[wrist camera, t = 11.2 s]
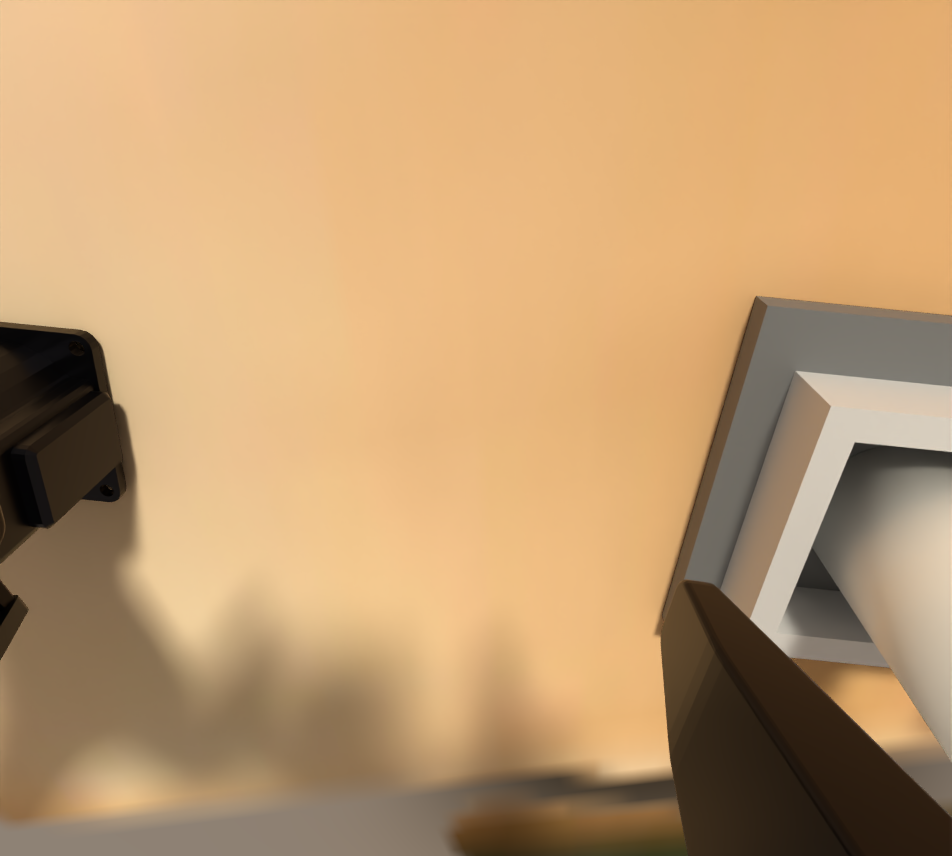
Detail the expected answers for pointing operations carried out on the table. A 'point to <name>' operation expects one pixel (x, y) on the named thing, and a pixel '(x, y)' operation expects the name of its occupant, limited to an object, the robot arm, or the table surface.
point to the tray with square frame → (809, 458)
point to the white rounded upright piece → (899, 567)
